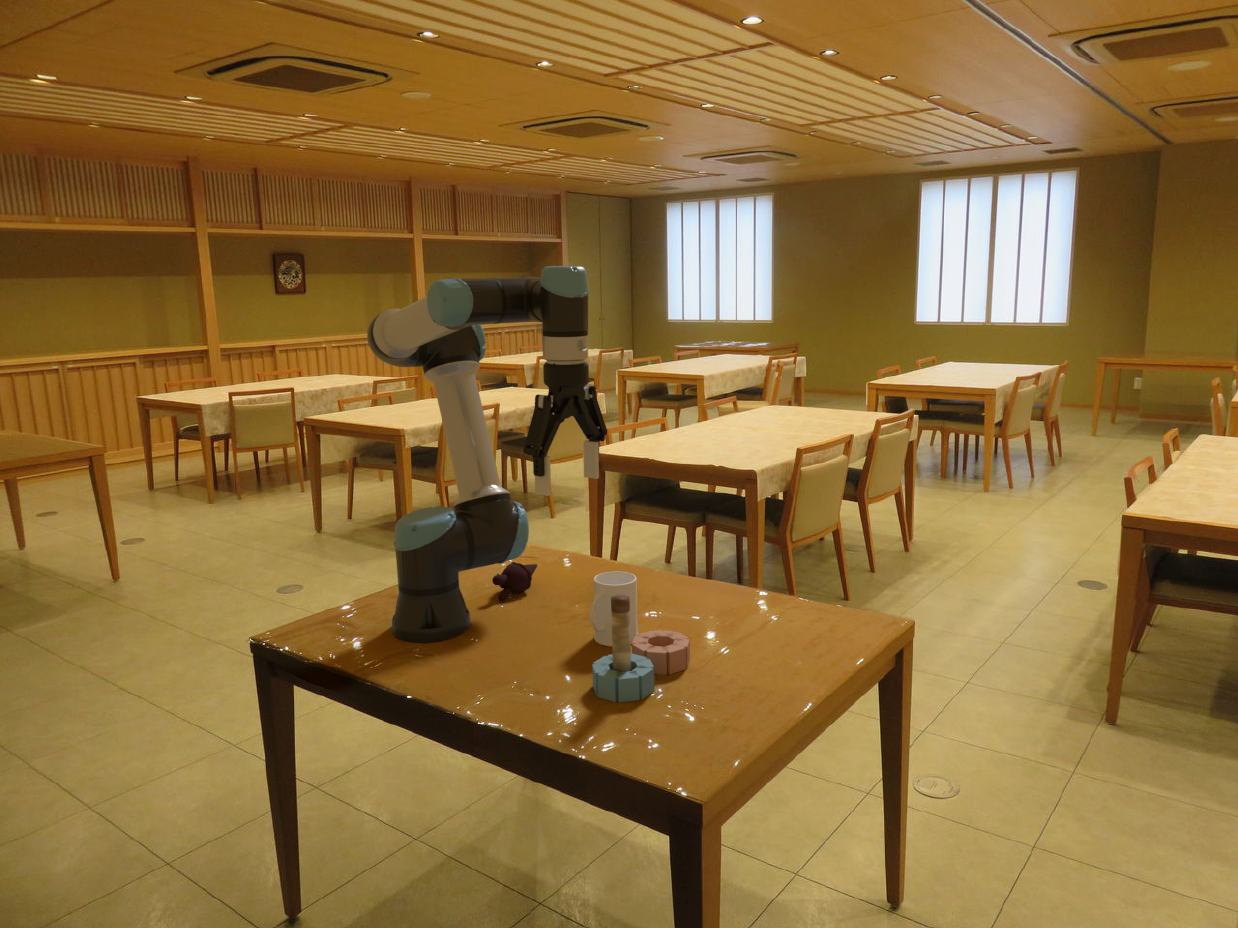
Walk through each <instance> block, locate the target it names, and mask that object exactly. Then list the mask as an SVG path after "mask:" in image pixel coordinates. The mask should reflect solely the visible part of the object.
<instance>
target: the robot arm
mask: <svg viewBox="0 0 1238 928" xmlns="http://www.w3.org/2000/svg"><path fill="white" fill-rule="evenodd" d="M589 293H590V291H589V288H588V273H587V270H586V269H585V268H584V266H581V265H549V266H544V267H543V268H542V269H541V274H540V277H538V276H537V277H534V276H530V275H527V276H517V277H493V278H489V277H488V278H458V277H451V278H447V279H446V278H445V279H437V280H434V281H433V282H432V283H431V284H430V286H429V289H428V290H427V294H426V296H425V297H422V298H421V299H418V300H417V301H415V302H413V303H412V302H411V304H408V305H406V306H404V307H402V308H390V309H386V310H385V311H383V312H380V313H379V314H378V315H376V316H375V317H374V318H373V319H372V320H371V321H370V323H369V326H368V328H367V332H366V333H367V335H366V339H367V344H368V347H369V349H370V350H371V352H372V353H373V354H374V356H375V357H377V359H379V360H380V361H382V362H383V363H386V364H388V365H390V366H394V367H398V368H415V367H416V368H417V367H418V368H419V367H421V368H422V370H423V376H424V378H425V379H426V380H428V381H429V382H431V383H433V385H434V389H435V395H436V399H437V404H438V408H439V412H440V416H441V421H442V426H443V430H444V434H445V435H444V436H445V438H446V439H445V440H446V444H447V447H448V451H449V455H450V456H449V457H450V461H451V465H452V469H453V474H454V479H455V483H456V487H457V492H458V497H457V499H456V501H455V502H454V503H453V508H454V509H453V508H452V507H449V506H444V505H443V506H442V505H441V506H440V505H438V506H434V507H431V506H429V507H424V508H420V509H417V510H413V511H410V512H409V513H407V514H405V515H403V516H402V517H400V518H399V519H398V521H397V522H396V523H395V526H394V540H393V546H394V548H395V560H396V561H395V562H396V573H397V584H398V585H397V586H398V587H397V588H398V595H397V599H396V600H397V601H396V605H395V610H394V615H393V616H392V619H391V628H392V629H391V630H392V631H391V632H392V634H393V636H395V637H396V638H398V639H400V640H402V641H404V642H405V641H406V642H411V643H431V642H441V641H445V640H449V639H453V638H455V637H458V636H460V635H462V634H463V633H465V632H466V631H467V630H469V628H470V626H471V613H470V610H469V609H468V607H467V605H466V601H465V598H464V595H463V594H462V591H461V589H460V582H459V581H460V578H459V573H461V572H464V571H469V570H473V569H479V568H482V567H487V566H492V565H496V564H499V565H500V564H503V563H506V562H507V561H511V560H515V559H518V558H519V557H520V556H521V555H522V554H523V553H524V552H525V549H526V548H527V544H528V541H529V535H530V534H529V533H530V527H529V526H530V523H529V518H528V514H527V512H526V510H525V508H524V506H523V505H522V504H521V503H520V502H517V501H515V500H512V496H511V493H510V491H508V490H507V489H506V488H503V486H501V483H500V478H499V474H498V469H497V466H496V460H495V456H494V451H493V448H492V447H493V446H492V444H491V438H490V435H489V431H488V425H487V421H486V417H485V412H484V408H483V404H482V399H481V395H480V391H479V387H478V383H477V378H476V374H477V372H478V371H479V370H480V368H481V363H480V361H482V360H483V359H484V357H485V354H486V349H487V348H486V346H485V345H486V342H487V341H486V334H485V331H484V328H483V326H482V325H490V324H492V325H495V324H496V325H497V324H514V323H517V324H518V323H541V325H542V359H543V360H545V361H546V362H544V364H543V365H542V367H543V371H542V372H543V374H542V375H543V383H544V385H545V386H547V388H548V391H547V392H548V393H547V395H546V394H538V393H537V394H536V395H535V397H534V409H533V413H532V416H531V420H530V423H529V428H528V432H527V434H526V439H525V441H524V444H523V445H524V446H523V450H522V451H523V453H524V454H525V455H526V454H527V456H531V457H532V465H533V466H532V467H533V468H532V474H533V475H534V493H535V494H536V495H540V496H547V497H548V496H549V497H550V496H552V487H551V486H552V484H551V483H552V481H551V480H552V479H551V456H549V455H548V453H549V450H550V448H551V445H552V444H553V441H554V439H555V436H557V432H558V430H559V428H560V425H561V424H562V423H563V422H565V420H566V419H569V418H571V417H573V418H574V420H575V421H576V423H577V425H578V427H579V429H580V430H581V431H582V433H583V435H584V436H585V438H586V440H583V477H584V478H589V479H595V480H598V479H599V478H600V467H599V466H600V463H599V462H600V461H599V458H600V442H604V441H605V439H606V436H607V434H608V430H607V426H606V424H605V420H604V416H603V414H602V410H601V407H600V404H599V401H598V397H597V387H596V386H595V385H589V382H590V375H589V374H590V373H589V372H590V368H589V367H590V365H589V363H588V361H587V362H586V360H587V359H588V358H589Z"/></svg>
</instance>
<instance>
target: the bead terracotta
mask: <svg viewBox="0 0 1238 928" xmlns="http://www.w3.org/2000/svg"><path fill="white" fill-rule="evenodd" d="M690 640H691V639H690V638H689V637H688V636H686V635H685V634H682V633H680V632H679V631H676V632H675V631H674V630H661V629H660V630H659V629H656V630H653V629H652V630H649V631H645V632H641V633H638V635H637V636H635V638H634V640H633V642H632V644H631V653H632V654H636V655H640V656H644V657H647V659H650V661H651V662H652V664H653V666H654V675H663V676H666V675H667V674H668V675H673V674H676V673H679V672H682V671H685V670H686V669H688V667H689V664H690V661H691V657H690V656H691V650H690V649H691V645H690V644H691V641H690Z"/></svg>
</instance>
